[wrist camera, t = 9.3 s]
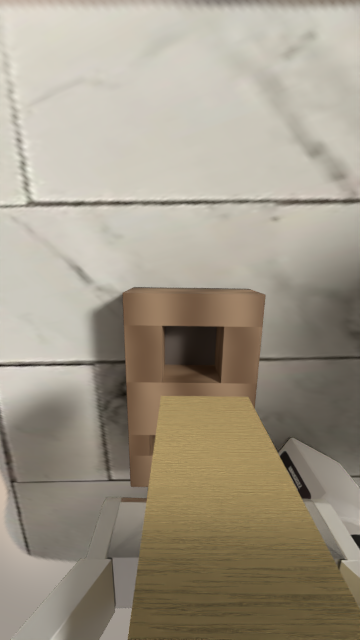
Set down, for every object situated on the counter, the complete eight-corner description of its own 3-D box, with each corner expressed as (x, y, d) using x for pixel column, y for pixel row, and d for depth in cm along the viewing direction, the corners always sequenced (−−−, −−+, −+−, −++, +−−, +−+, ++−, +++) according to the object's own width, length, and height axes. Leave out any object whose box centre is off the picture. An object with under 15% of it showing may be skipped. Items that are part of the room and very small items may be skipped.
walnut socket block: (248, 288, 25) (265, 294, 20) (235, 450, 29) (246, 487, 24) (133, 287, 25) (122, 292, 20) (138, 449, 29) (130, 486, 24)
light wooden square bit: (248, 396, 11) (429, 740, 3) (241, 469, 12) (366, 876, 4) (160, 395, 11) (114, 740, 3) (161, 468, 12) (125, 877, 4)
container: (254, 479, 30) (308, 634, 18) (290, 435, 29) (378, 569, 16) (302, 503, 31) (386, 667, 18) (339, 461, 30) (459, 608, 17)
